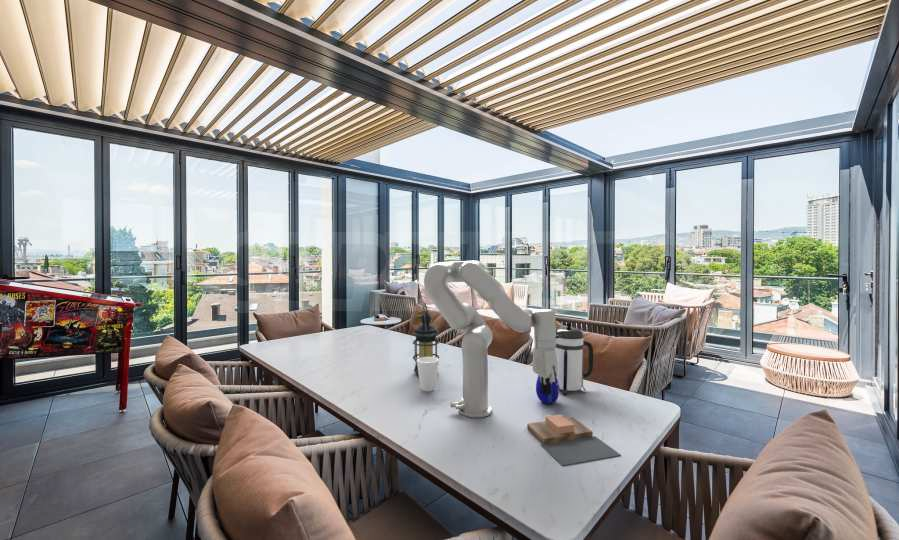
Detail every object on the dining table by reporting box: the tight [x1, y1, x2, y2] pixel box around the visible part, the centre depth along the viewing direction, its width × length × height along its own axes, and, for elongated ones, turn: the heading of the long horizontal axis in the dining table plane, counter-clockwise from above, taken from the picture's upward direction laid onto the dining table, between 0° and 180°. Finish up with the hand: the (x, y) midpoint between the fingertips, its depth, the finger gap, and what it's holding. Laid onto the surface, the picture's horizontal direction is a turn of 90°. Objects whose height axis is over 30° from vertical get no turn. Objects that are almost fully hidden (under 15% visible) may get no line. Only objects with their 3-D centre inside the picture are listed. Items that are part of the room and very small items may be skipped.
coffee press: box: [556, 321, 594, 396], centre depth 170 cm, size 17×16×30 cm
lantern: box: [412, 302, 440, 375], centre depth 191 cm, size 14×13×35 cm
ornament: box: [535, 374, 561, 405], centre depth 156 cm, size 11×9×15 cm
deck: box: [526, 417, 594, 445], centre depth 130 cm, size 18×11×2 cm, turn 106°
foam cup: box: [417, 356, 440, 392], centre depth 170 cm, size 10×9×13 cm
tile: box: [544, 414, 574, 434], centre depth 130 cm, size 6×8×2 cm
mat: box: [540, 435, 621, 467], centre depth 119 cm, size 20×12×1 cm, turn 106°
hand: (546, 394), depth 139 cm, fingers closed
